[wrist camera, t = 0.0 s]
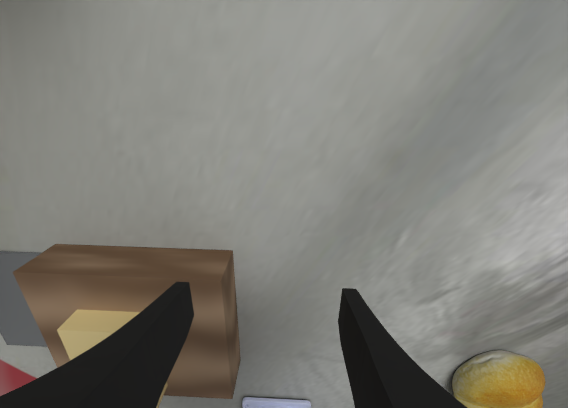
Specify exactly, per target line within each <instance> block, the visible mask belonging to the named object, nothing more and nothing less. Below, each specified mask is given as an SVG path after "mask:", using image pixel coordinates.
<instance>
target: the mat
mask: <svg viewBox="0 0 568 408" xmlns="http://www.w3.org/2000/svg"><path fill="white" fill-rule="evenodd" d="M40 254H41V253H33V252H7V251H0V333H1V335H2V336H3V338H4V340H5V342H6V344H7V345H26V346H46V347H48V346H47V344H46V342H45V340H44V338H43V336H42V333H41V331H40V329H39V327H38V325H37V323H36V321H35V319H34V317H33V314H32V312H31V310H30V308H29V306H28V304H27V302H26V300H25V298H24V296H23V293H22V291H21V289H20V287H19V285H18V283H17V281H16V279H15V277H14V274H13V272H14V271H15V270H17V269H18V268H20V267H21V266H23V265H24V264H26V263H27V262H29V261H30V260H32V259H33V258H35V257H37V256H38V255H40Z"/></svg>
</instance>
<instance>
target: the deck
mask: <svg viewBox="0 0 568 408" xmlns="http://www.w3.org/2000/svg"><path fill="white" fill-rule="evenodd" d="M13 274H14V277H15V279H16V281H17V283H18V285H19V287H20V289H21V291H22V293H23V296H24V298H25V300H26V302H27V304H28V306H29V308H30V310H31V312H32V314H33V317H34V319H35V321H36V323H37V325H38V327H39V329H40V331H41V333H42V336H43V338H44V340H45V342H46V344H47V346H48V348H49V350H50V352H51V355H52V357H53V359H54V361H55V363H56V365H57V367H60V366H62V365H64V364H65V363H67V362H69V361H70V359H69V356H68V354H67V352H66V349H65V347H64V345H63V343H62V340H61V338H60V336H59V333H58V331H57V329H58V328H59V327H60V326H61V325H62V324H63V323H64V322H65V321H66V320H67V319H68V318H69V317H70V316H71V315H72V314H73V313H74V312H75V311H76V310H77V309H78V310H100V311H123V312H141V311H143V310H144V309H145V308H146V307H147V306H149V305H150V304H151V303H152V302H153V301H154V300H156V299H157V298H158V297H159V296H160V295H161V294H163V293H164V292H165V291H166V290H167V289H168V288H170V287H171V286H172V285H173V284H174V283H175V282H189V284H190V290H191V297H192V303H193V310H194V317H193V321H192V324H191V327H190V330H189V333H188V336H187V338H186V341H185V343H184V345H183V347H182V349H181V352H180V354H179V356H178V358H177V360H176V362H175V365H174V367H173V369H172V371H171V373H170V375H169V378H168V380H167V385H168V386H167V388H166V391H165V393H164V395H169V396H187V397H206V398H224V399H232V398H233V394H234V389H235V384H236V379H237V374H238V369H239V364H240V347H239V333H238V319H237V305H236V291H235V277H234V262H233V251H229V250H202V249H175V248H148V247H121V246H94V245H67V244H55V245H53V246H52V247H50V248H49V249H47V250H46V251H44V252H43V253H41V254H40V255H38V256H37V257H35V258H33V259H32V260H30V261H29V262H27V263H26V264H24V265H23V266H21V267H20V268H18V269H17V270H15V271H14V272H13Z"/></svg>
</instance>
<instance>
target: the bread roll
mask: <svg viewBox="0 0 568 408" xmlns="http://www.w3.org/2000/svg"><path fill="white" fill-rule="evenodd" d="M544 386H545V377H544V373H543V371H542V369H541V368H540V366H539V365H538V364H537V363H536V362H535V361H533V360H532V359H530V358H528V357H525V356H522V355H519V354H515V353H512V352H508V351H504V350H496V351H488V352H485V353H482V354H479V355H477V356H475V357H473V358H472V359H470V360H468V361H467V362H465V363H464V364H462V365H461V366H460V367H459V368H458V369H457V370H456V372H455V374H454V376H453V380H452V388H453V392H454V397H455V398H456V399H457V400H458V401H460V402H461V403H462V404H463V405H465V406H466V407H467V408H542V406H543V400H542V395H541V394H542V392H543V390H544Z"/></svg>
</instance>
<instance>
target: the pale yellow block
mask: <svg viewBox="0 0 568 408" xmlns="http://www.w3.org/2000/svg"><path fill="white" fill-rule="evenodd" d="M139 313H140V312H123V311H100V310H78V309H77V310H76V311H75V312H74V313H73V314H72V315H71V316H70V317H69V318H68V319H67V320H66V321H65V322H64V323H63V324H62V325H61V326H60V327H59V328H58V329H57V331H58V333H59V336H60V338H61V340H62V343H63V345H64V347H65V349H66V352H67V354H68V356H69V359H70V360H72V359H74V358H75V357H77V356H79V355H80V354H82V353H84V352H85V351H87V350H89V349H90V348H92V347H93V346H95V345H96V344H98V343H99V342H101V341H102V340H104V339H105V338H107V337H108V336H110V335H111V334H113V333H114V332H115V331H117V330H118V329H120V328H121V327H122V326H123V325H125V324H126V323H127V322H129V321H130V320H131V319H132V318H134V317H135V316H136V315H138V314H139ZM167 386H168V385H167V382H166V384H165V386H164V389H163V391H162V393H161V396H160V398H159V401H158V404H157V407H156V408H158V407H159V404H160V402H161V400H162V398H163V395H164V393H165V391H166V388H167Z"/></svg>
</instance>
